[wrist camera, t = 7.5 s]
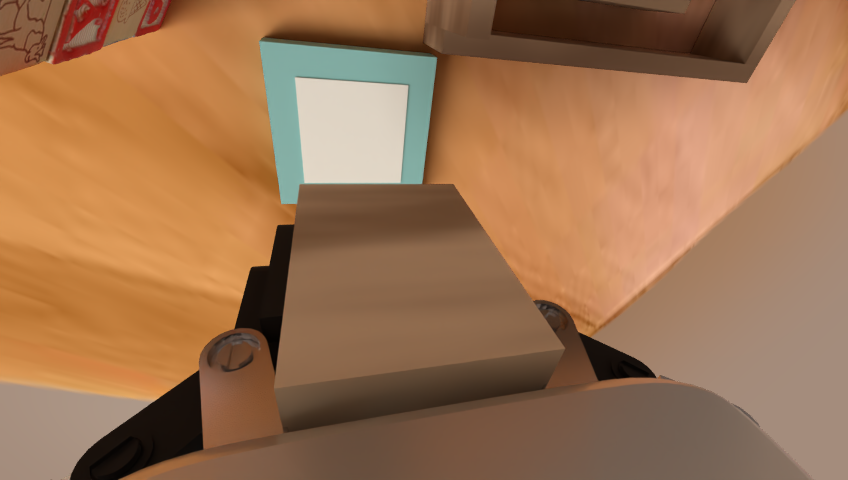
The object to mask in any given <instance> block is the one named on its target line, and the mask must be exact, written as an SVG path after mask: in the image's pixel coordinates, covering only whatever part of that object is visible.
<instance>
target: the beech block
mask: <svg viewBox="0 0 848 480" xmlns="http://www.w3.org/2000/svg"><path fill="white" fill-rule="evenodd" d="M564 350H565V347H564V346H563V344H562V343H561V341H560V340H559V339H558V337H557V336H556V334H555V333H554V331H553V330H552V328H551V327H550V325H549V324H548V322H547V321H546V319H545V318H544V317H543V315H542V314H541V312H540V311H539V309H538V308H537V306H536V305H535V303H534V302H533V300H532V299H531V297H530V296H529V295H528V293H527V292H526V290H525V289H524V287H523V286H522V284H521V283H520V281H519V280H518V278H517V277H516V275H515V274H514V273H513V271H512V270H511V268H510V267H509V265H508V264H507V262H506V261H505V259H504V258H503V256H502V255H501V253H500V252H499V251H498V249H497V248H496V246H495V245H494V243H493V242H492V240H491V239H490V237H489V236H488V234H487V233H486V231H485V230H484V229H483V227H482V226H481V224H480V223H479V221H478V220H477V218H476V217H475V215H474V214H473V212H472V211H471V209H470V208H469V207H468V205H467V204H466V202H465V201H464V199H463V198H462V196H461V195H460V193H459V192H458V190H457V189H456V187H455V186H454V185H453V184H300V185H299V193H298V201H297V208H296V216H295V224H294V232H293V240H292V248H291V256H290V264H289V272H288V280H287V288H286V296H285V303H284V311H283V319H282V327H281V335H280V343H279V351H278V359H277V367H276V375H275V383H274V392H275V396H276V401H277V406H278V410H279V415H280V419H281V424H282V427H288V430H289V432H294V431H299V430H305V429H311V428H317V427H322V426H328V425H334V424H340V423H345V422H351V421H357V420H363V419H369V418H374V417H380V416H386V415H392V414H398V413H404V412H410V411H416V410H422V409H427V408H433V407H439V406H445V405H451V404H457V403H463V402H469V401H475V400H481V399H487V398H493V397H500V396H506V395H512V394H518V393H524V392H531V391H537V390H541V389H542V387H543V385H544V384H548V382H549V380H550V378H551V376H552V374H553V372H554V370H555V368H556V366H557V364H558V362H559V360H560V358H561V356H562V354H563V352H564Z"/></svg>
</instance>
